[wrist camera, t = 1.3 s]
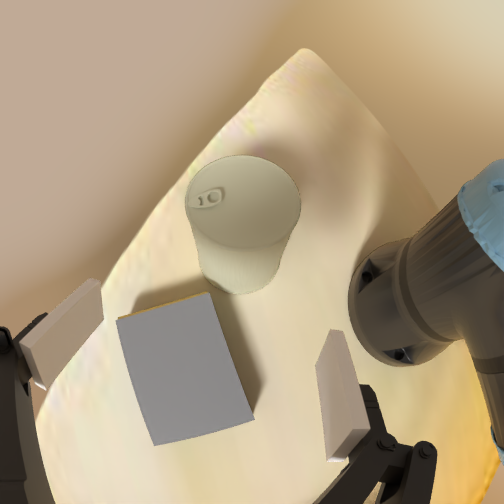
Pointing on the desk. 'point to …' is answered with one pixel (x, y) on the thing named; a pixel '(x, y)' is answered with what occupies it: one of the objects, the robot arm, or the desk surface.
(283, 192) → the can
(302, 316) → the desk surface
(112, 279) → the desk surface
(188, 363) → the block
